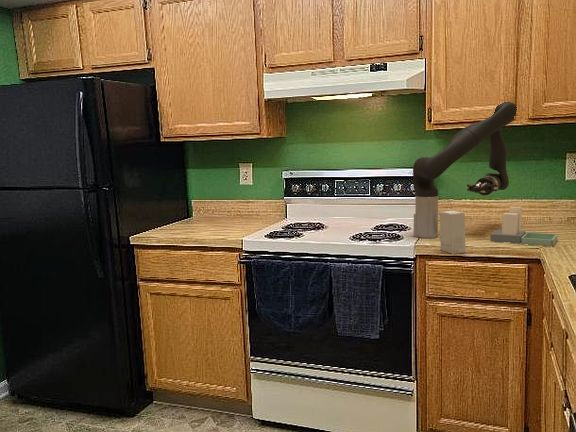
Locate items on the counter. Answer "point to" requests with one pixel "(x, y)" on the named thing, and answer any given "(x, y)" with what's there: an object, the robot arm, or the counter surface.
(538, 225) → the counter surface
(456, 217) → the skincare box
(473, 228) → the counter surface
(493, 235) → the board
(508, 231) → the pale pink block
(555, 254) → the counter surface
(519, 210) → the beige rectangular block
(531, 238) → the tray
